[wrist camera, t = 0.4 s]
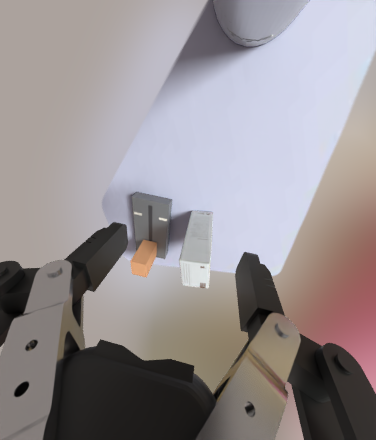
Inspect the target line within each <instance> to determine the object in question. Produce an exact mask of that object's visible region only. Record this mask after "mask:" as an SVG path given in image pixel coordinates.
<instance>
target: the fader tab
mask: <svg viewBox="0 0 376 440" xmlns="http://www.w3.org/2000/svg"><path fill="white" fill-rule="evenodd" d="M156 255H157V243H156V242H152V241H147V240H143V241H142V243H141V245H140V246H139V248H138V250H137V251H136V253H135V255H134V256H133V258H132V260H131V269H132V274H135V275H139V276H143V277H147V275H148V273H149V271H150V268H151V266H152V264H153V262H154V260H155V257H156Z"/></svg>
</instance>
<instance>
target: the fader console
mask: <svg viewBox="0 0 376 440" xmlns="http://www.w3.org/2000/svg"><path fill="white" fill-rule="evenodd" d="M132 206H133V217H134V229H135V240H136V251H137V250H138V248H139V246H140V245H141V243H142V241H143V240H147V241H152V242H156V243H157V255H156V257H159V258H163V259H165V258H166V255H167V252H168V241H169V230H170V218H171V207H172V199H167V198H163V197H158V196H153V195H149V194H144V193H139V192H136V193H135V194H134V195H133V196H132Z"/></svg>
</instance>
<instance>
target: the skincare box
mask: <svg viewBox="0 0 376 440" xmlns="http://www.w3.org/2000/svg"><path fill="white" fill-rule="evenodd" d="M212 228H213V212H206V211H192V212H191V215H190V219H189V223H188V227H187V231H186V235H185V239H184V243H183V247H182V252H181V255H180V259H179V263H180V270H181V278H182V285H184V286H191V287H201V288H209V279H210V262H211V246H212Z"/></svg>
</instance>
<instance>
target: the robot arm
mask: <svg viewBox="0 0 376 440" xmlns="http://www.w3.org/2000/svg"><path fill="white" fill-rule="evenodd" d="M309 1H310V0H213V4H214V9H215V13H216V16H217V20H218V22H219V24H220V26H221V28H222V30H223V31H224V33H225V34H226V35H227V36H228V37H229V38H230V39H231V40H232V41H234V42H235V43H237V44H239V45H243V46H258V45H262V44H265V43H267V42H269V41H271V40H272V39H274V38H276V37H277V36H278V35H279V34H281V33H282V32H283V31H284V30H285V29H286V28H287V27H288V26H289V25H290V24H291V23H292V21H293V20H294V19H295V18H296V17H297V16H298V14H299V13H300V12H301V11H302V9H303V8H304V7H305V6H306V5H307V3H308V2H309ZM127 244H128V238H127V227H126V225H125V224H121V223H116V222H113V223H112V224H111V225H110V226H109V227H108V228H103V229H101V230H98V231H97V232H95V233H94V234H93V235H92V236H91V237H90V238H88V239H87V240H86V242H84V243H83V244H82V245H80V246H79V247H78V248H77V249H76V250H75V251H74V252H72V253H71V254H70V255H69V256H68V257H67V258H66V259H64V260H57V261H53V262H50V263H48V264H46V265H44V266H43V267H41V268H27V269H22V267H21V266H20V264H19V263H18V262H15V261H5V262H1V263H0V347H1V346H2V344H3V343H4V342H5V343H4V346H3V349H2V352H1V355H0V440H275V437H276V434H277V431H278V428H279V425H280V422H281V419H282V416H283V413H284V409H285V406H286V403H287V398H288V392H287V391H286V390H285V385H286V382H289V383H290V384H291V385H292V389H293V394H294V398H295V402H296V407H297V411H298V415H299V420H300V424H301V428H302V432H303V437H304V440H376V394H375V392H374V390H373V388H372V386H371V384H370V383H369V381H368V379H367V377H366V375H365V373H364V372H363V370H362V368H361V366H360V365H359V364H358V362H357V361H356V360H355V359H354V358H353V357H352V356H351V355H350V354H349V353H348V352H347V351H346V350H345V349H343V348H342V347H340V346H338V345H336V344H333V343H327V344H325V345H323V346H321V345H319V344H317V343H315V342H314V341H312V340H310V339H308V338H306V337H305V336H303V335H302V334H300V333H299V332H298V330H297V328H296V326H295V325H294V324H293V323H292V322H291V321H290V320H289V319H288V318H287V317H285V315H284V312H283V309H282V306H281V303H280V300H279V297H278V294H277V291H276V288H275V285H274V282H273V279H272V276H271V273H270V271H269V270H268V269H267V267H266V266H265V265H263V264H260V261H259V257H258V255H256V254H252V253H247V252H244V254H243V256H242V258H241V260H240V262H239V264H238V266H237V269H236V274H235V277H236V288H237V297H238V306H239V317H240V327H241V331H245V332H248V337H249V339H248V341H247V342H246V344H245V345H244V347H243V348H242V350H241V351H240V353H239V355H238V356H237V358H236V359H235V361H234V362H233V364H232V365H231V367H230V369H229V370H228V372H227V373H226V374H225V376H224V377H223V378H222V380H221V381H220V383H219V384H218V386H217V387H216V389H215V391H214V392H213V394H212V392H211V391H210V389H209V388H208V386H207V385H206V384H205V383H204V382H203V380H202V379H200V378H199V377H198V376H197V375H196V374H194V366H193V365H189V364H186V363H182V362H179V361H175V360H172V359H165V360H149V361H144V360H142V359H140V358H139V357H137V356H136V355H135V354H133V353H132V352H131V351H129V350H128V349H127V348H125V347H124V346H122V345H118V344H114V343H111V342H108V341H104V340H100V341H99V343H98V344H97V346H95V347H89V348H86V349H85V339H84V334H83V301H84V299H83V298H84V297H83V294H84V293H85V292H86V291H87V290H90V291H93V292H94V291H95V290H96V289H97V287H98V286H99V285H100V283H101V282H102V281H103V279H104V278H105V277H106V275H107V274H108V273H109V271H110V270H111V269H112V267H113V266H114V265H115V263H116V262H117V261H118V259H119V258H120V256H121V255H122V254H123V253H124V251H125V250H126V248H127Z"/></svg>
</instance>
